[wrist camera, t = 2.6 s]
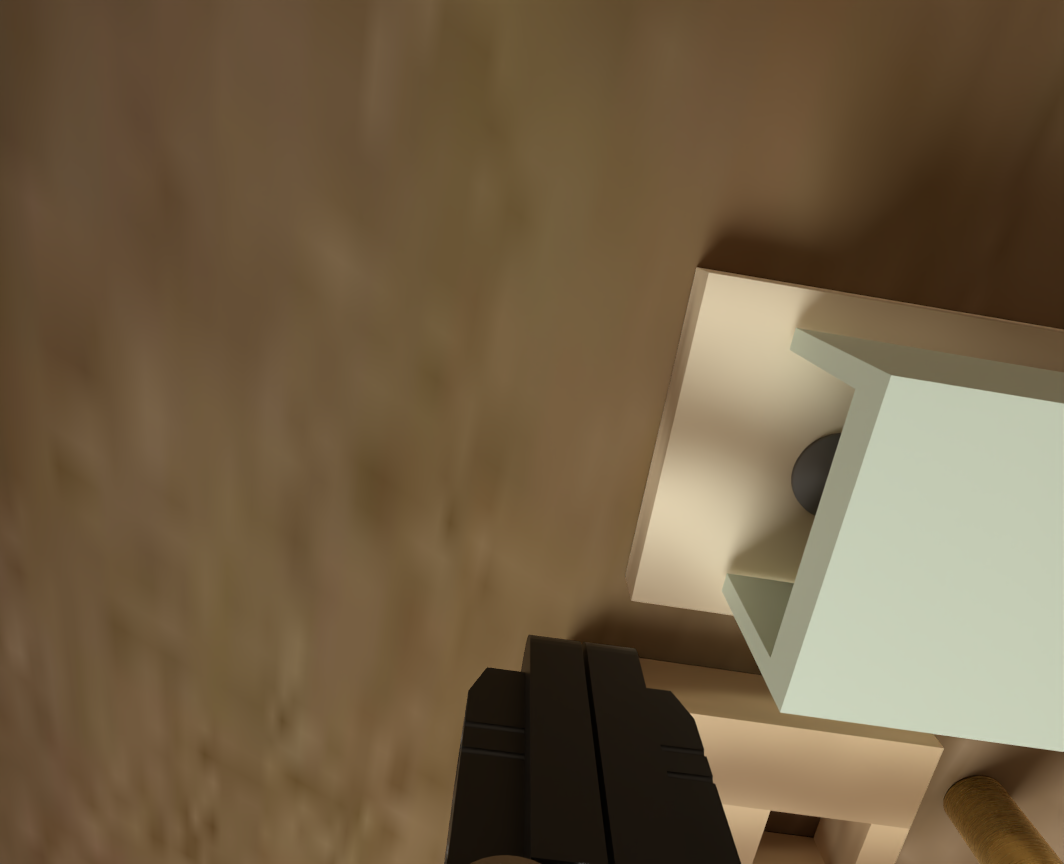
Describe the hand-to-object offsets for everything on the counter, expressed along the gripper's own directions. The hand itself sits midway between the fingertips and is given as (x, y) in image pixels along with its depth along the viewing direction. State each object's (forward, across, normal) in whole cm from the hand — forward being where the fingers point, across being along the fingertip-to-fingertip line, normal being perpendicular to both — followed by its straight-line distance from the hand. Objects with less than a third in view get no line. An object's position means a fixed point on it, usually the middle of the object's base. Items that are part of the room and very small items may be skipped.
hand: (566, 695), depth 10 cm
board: (+12, -11, 0) cm, 16 cm away
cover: (+10, -11, 0) cm, 15 cm away
